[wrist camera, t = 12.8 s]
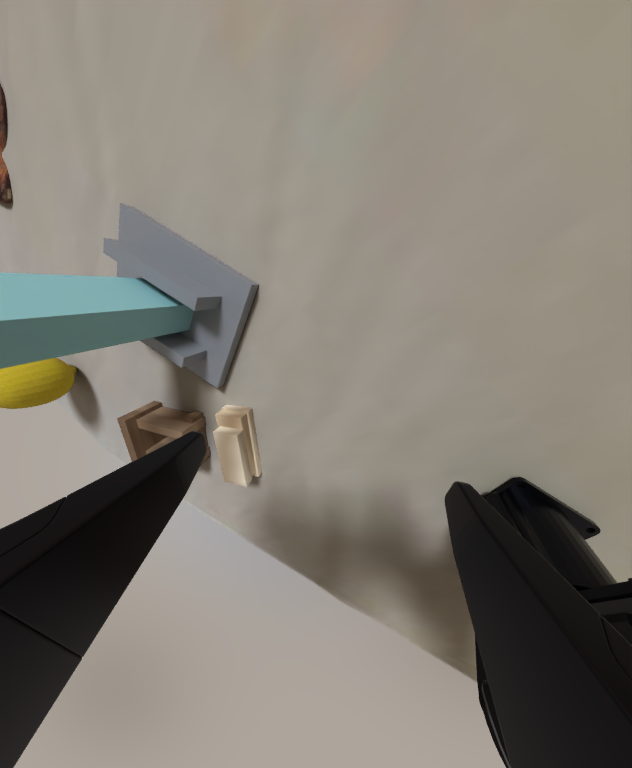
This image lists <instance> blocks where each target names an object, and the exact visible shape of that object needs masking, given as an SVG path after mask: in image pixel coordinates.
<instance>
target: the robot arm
mask: <svg viewBox="0 0 632 768" xmlns="http://www.w3.org/2000/svg"><path fill="white" fill-rule="evenodd" d="M206 452H207V447H206V442H205V436H204V434H203V433H201V432H196V431H191V432H189V433H187V434H185V435H183V436H181V437H179V438H177V439H175V440H173V441H171V442H169V443H168V444H166V445H164V446H162V447H160V448H158V449H156V450H154V451H152V452H150V453H148V454H146V455H144V456H143V457H141V458H139V459H137V460H135V461H133V462H131V463H129V464H127V465H125V466H123V467H121V468H119V469H117V470H116V471H114V472H112V473H110V474H108V475H106V476H104V477H102V478H100V479H98V480H96V481H94V482H93V483H91V484H89V485H87V486H85V487H83V488H81V489H79V490H77V491H75V492H73V493H71V494H69V495H68V496H67V497H64V498H62V499H60V500H58V501H56V502H54V503H52V504H50V505H48V506H46V507H44V508H42V509H40V510H38V511H36V512H34V513H32V514H30V515H28V516H27V517H24V518H23V519H20V520H18V521H16V522H14V523H12V524H10V525H8V526H6V527H4V528H1V529H0V768H13V767H14V766H15V764H16V762H17V761H18V759H19V758H20V756H21V755H22V753H23V751H24V750H25V748H26V747H27V745H28V743H29V742H30V740H31V739H32V737H33V736H34V734H35V732H36V731H37V729H38V728H39V726H40V724H41V723H42V721H43V720H44V718H45V717H46V715H47V713H48V712H49V710H50V709H51V707H52V705H53V704H54V702H55V701H56V699H57V698H58V696H59V694H60V693H61V691H62V690H63V688H64V687H65V685H66V683H67V682H68V680H69V678H70V677H71V675H72V674H73V672H74V671H75V669H76V668H77V666H78V664H79V663H80V661H81V659H82V657H83V656H84V654H85V653H86V651H87V650H88V648H89V647H90V645H91V643H92V642H93V640H94V638H95V637H96V635H97V634H98V632H99V631H100V629H101V628H102V626H103V624H104V623H105V621H106V619H107V618H108V616H109V615H110V613H111V612H112V610H113V609H114V607H115V605H116V604H117V602H118V601H119V599H120V597H121V596H122V594H123V593H124V591H125V590H126V588H127V586H128V585H129V583H130V582H131V580H132V578H133V577H134V575H135V574H136V572H137V571H138V569H139V567H140V566H141V564H142V562H143V561H144V559H145V558H146V556H147V555H148V553H149V552H150V550H151V548H152V547H153V545H154V543H155V542H156V540H157V539H158V537H159V536H160V534H161V533H162V531H163V529H164V528H165V526H166V525H167V523H168V521H169V520H170V518H171V517H172V515H173V514H174V512H175V510H176V509H177V507H178V506H179V504H180V502H181V501H182V499H183V498H184V496H185V494H186V492H187V491H188V489H189V487H190V485H191V483H192V481H193V479H194V477H195V475H196V473H197V471H198V469H199V467H200V465H201V463H202V461H203V459H204V457H205V455H206ZM519 484H522V485H519ZM445 507H446V513H447V519H448V525H449V531H450V537H451V543H452V548H453V552H454V556H455V560H456V564H457V568H458V572H459V575H460V579H461V583H462V586H463V590H464V594H465V598H466V601H467V605H468V609H469V613H470V616H471V620H472V624H473V627H474V631H475V644H476V664H477V682H478V691H479V701H480V705H481V707H482V710H483V712H484V715H485V719H486V722H487V725H488V727H489V730H490V733H491V736H492V738H493V741H494V743H495V745H496V748H497V750H498V752H499V754H500V756H501V758H502V760H503V762H504V764H505V766H506V768H632V578H629V579H628V580H629V581H627V582H621V583H617V582H616V580H615V579H614V578H613V576H612V575H611V574H610V572H609V571H608V570H607V569H606V567H605V566H604V565H603V563H602V562H601V561H600V559H599V558H598V557H597V555H596V554H595V553H594V551H593V550H592V549H591V547H590V546H589V545H588V543H587V542H586V541H585V540H586V539H588V538H590V537H593V536H595V535H597V534H599V533H600V528H599V527H598V526H597V525H596V524H595V523H594V522H593V521H591V520H590V519H588V518H586V517H585V516H583V515H582V514H580V513H578V512H577V511H575V510H574V509H572V508H571V507H569V506H567V505H566V504H564V503H563V502H561V501H559V500H558V499H556V498H555V497H553V496H551V495H550V494H548V493H547V492H545V491H543V490H542V489H540V488H539V487H537V486H536V485H534V484H532V483H531V482H529V481H528V480H526V479H524V478H521V477H516V478H513V479H512V480H510V481H509V482H507V483H506V484H504V485H503V486H501V487H499V488H498V489H496V490H495V491H493V492H492V493H490V494H489V495H487V496H486V497H484V498H483V497H482V496H481V495H480V494H479V493H478V492H477V491H476V490H475V489H474V488H473V487H472V486H471V485H470V484H468V483H463V482H458V481H456V482H454V483H453V485H452V486H451V488H450V489H449V491H448V492H447V494H446V496H445Z"/></svg>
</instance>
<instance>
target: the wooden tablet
mask: <svg viewBox="0 0 632 768" xmlns="http://www.w3.org/2000/svg"><path fill="white" fill-rule="evenodd" d="M6 141H7V115H6V105H5V99H4V93H3V90H2V87H1V84H0V202H5V203H10V202H11V200H12V193H11V185H10V179H9V174H8V170H7V167H6V165H5V162H4V160H3V158H2V152H3V150H4V148H5V146H6Z"/></svg>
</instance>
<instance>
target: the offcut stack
mask: <svg viewBox="0 0 632 768" xmlns="http://www.w3.org/2000/svg"><path fill="white" fill-rule="evenodd" d="M215 417H216V421H217V426H218V428H217V429H216V430H214V431H213V434H214V439H215V443H216V447H217V452H218V456H219V460H220V464H221V469H222V473H223V477H224V481H225V482H229V483H233V484H237V485H241V486H245V487H247V486H248V484H249V483H250V482H251V480H252V476H256V477H259V476H260V475H261V473H262V469H261V463H260V456H259V449H258V443H257V436H256V430H255V423H254V417H253V410H252V408H247V407H240V406H232V405H225V406H224V407H222V410H221V411H220V412H218V413H217V414H215Z"/></svg>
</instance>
